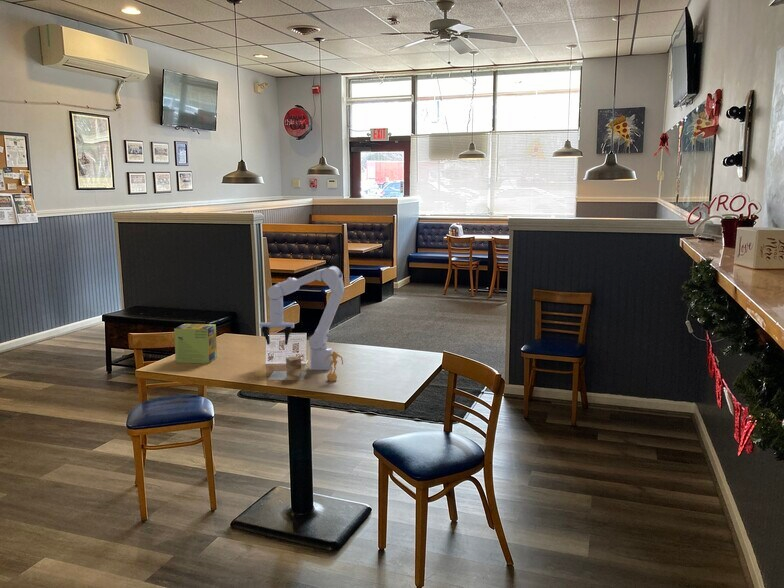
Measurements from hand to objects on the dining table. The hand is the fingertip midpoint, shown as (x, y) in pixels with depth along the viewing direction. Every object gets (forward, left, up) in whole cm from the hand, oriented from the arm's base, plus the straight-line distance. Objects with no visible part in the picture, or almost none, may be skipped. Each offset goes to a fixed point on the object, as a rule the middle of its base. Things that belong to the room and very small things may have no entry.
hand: (277, 344), depth 263 cm
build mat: (-7, +15, -10) cm, 19 cm away
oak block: (-10, +18, -9) cm, 23 cm away
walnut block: (-10, +18, -5) cm, 21 cm away
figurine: (-26, +20, -10) cm, 34 cm away
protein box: (+38, -9, -10) cm, 40 cm away
